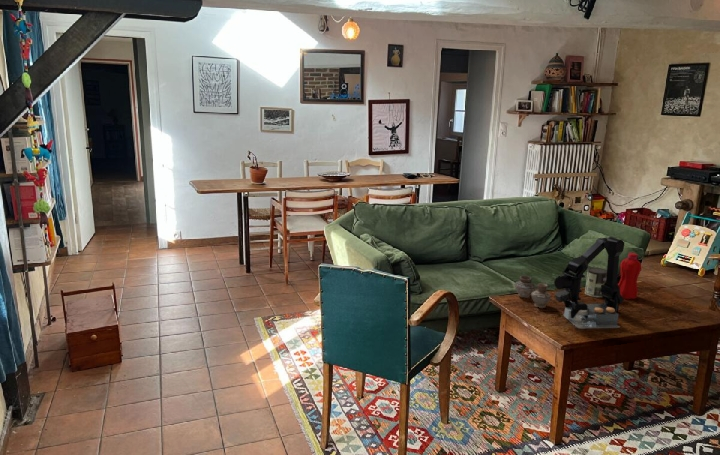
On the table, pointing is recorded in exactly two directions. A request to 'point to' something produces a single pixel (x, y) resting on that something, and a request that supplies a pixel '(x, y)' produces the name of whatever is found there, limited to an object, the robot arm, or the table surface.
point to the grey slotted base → (596, 318)
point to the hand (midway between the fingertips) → (570, 316)
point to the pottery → (533, 291)
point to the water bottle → (629, 276)
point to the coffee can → (595, 281)
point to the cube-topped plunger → (582, 312)
